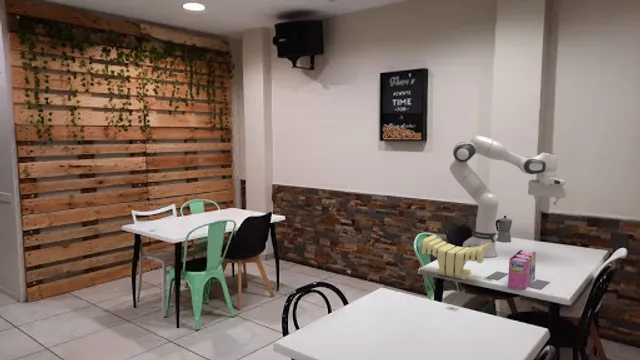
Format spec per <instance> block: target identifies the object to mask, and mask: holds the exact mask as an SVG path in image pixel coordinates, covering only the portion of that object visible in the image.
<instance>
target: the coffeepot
mask: <svg viewBox="0 0 640 360" xmlns="http://www.w3.org/2000/svg"><path fill="white" fill-rule="evenodd" d="M512 225H513V219H511V218H510V219H509V218H507V215H503V218H502V217H501V218H498V219H496V226H495V230H496V231H497V232H498V233H497V236H496V241H497V242H499V243H504V242H505V243H507V242H509V243H511V242H512V238H511V232H510V231H511V230H512V229H511V228H512Z"/></svg>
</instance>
